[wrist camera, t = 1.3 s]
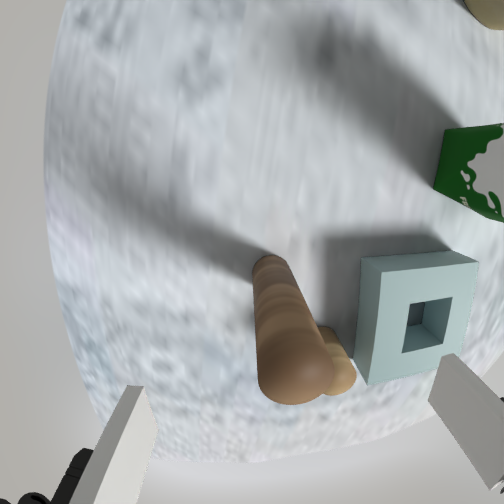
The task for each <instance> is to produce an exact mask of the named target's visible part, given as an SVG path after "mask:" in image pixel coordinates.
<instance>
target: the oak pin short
mask: <svg viewBox="0 0 504 504" xmlns="http://www.w3.org/2000/svg"><path fill="white" fill-rule="evenodd" d="M318 330H319V332H320V334H321V336H322V339H323V341H324V343H325V345H326V347H327V350H328V352H329V354H330V356H331V359H332V361H333V364H334V368H335V373H334V378H333V380H332V382H331V384H330V386H329V387H328V388H327V390H326V391H325V392H324V393H323V394H325V395H338V394H341V393H344V392H345V391H347V390H348V389H350V388H351V387H352V386H353V384H354V383H355V380H356V376H357V375H356V371H355V369H354V367H353V365H352V363H351V361H350V359H349V358H348V356H347V354H346V352H345V350H344V348H343V346H342V345H341V343H340V341H339V339H338V337H337V335H336V334H335V332H334V331H333V330H332V329H330V328H328V327H318Z"/></svg>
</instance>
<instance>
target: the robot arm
mask: <svg viewBox="0 0 504 504" xmlns="http://www.w3.org/2000/svg"><path fill="white" fill-rule="evenodd" d="M428 402H429V403H430V404H431V406H432V407H433V408H434V410H435V411H436V413H437V414H438V415H439V417H440V418H441V419H442V421H443V422H444V424H445V425H446V426H447V428H448V429H449V431H450V432H451V433H452V435H453V436H454V438H455V439H456V441H457V442H458V444H459V445H460V446H461V448H462V449H463V451H464V452H465V454H466V455H467V457H468V458H469V460H470V461H471V463H472V464H473V466H474V467H475V469H476V470H477V471H478V473H479V475H480V476H481V478H482V479H483V481H484V482H485V484H486V486H487V487H488V489H489V490H490V491H491V490H492V489H494V488H495V487H497V486H498V485H500V484H501V483H502V482H503V481H504V398H503V397H502V398H499V397H498V396H497V395H496V394H495V393H494V392H493V391H492V390H491V389H490V388H489V387H488V386H487V385H486V384H485V383H484V382H483V381H482V380H481V379H480V378H479V377H478V376H477V375H476V374H475V373H474V372H473V371H472V370H471V369H470V368H469V367H468V366H467V365H466V364H465V363H463V362H462V361H461V360H460V359H459V358H458V357H457V356H456V355H455V354H454V353H451V354H448V355H444V356H441V360H440V363H439V367H438V370H437V374H436V377H435V380H434V383H433V386H432V390H431V393H430V395H429V398H428ZM158 431H159V429H158V427H157V424H156V421H155V418H154V416H153V413H152V410H151V407H150V404H149V401H148V398H147V395H146V392H145V389H144V386H130V385H127V387H126V389H125V391H124V393H123V395H122V396H121V398H120V400H119V402H118V404H117V406H116V408H115V410H114V412H113V414H112V416H111V418H110V419H109V421H108V423H107V425H106V427H105V429H104V431H103V433H102V435H101V437H100V439H99V441H98V443H97V445H96V447H95V449H94V450H91V449H86V448H83V449H82V450H80V451H79V452H78V453H77V454H76V455H75V456H74V457H73V459H72V461H71V463H70V465H69V468H68V469H67V471H66V473H65V475H64V476H63V478H62V480H61V483H60V484H59V486H58V489H57V490H56V492H55V494H54V497H53V498H52V500H51V502H50V501H49V500H48V499H47V498H46V497H45V496H44V495H42V494H39V493H36V492H34V493H27V494H25V495H24V496H22V497H21V498H20V500H19V502H18V504H137V500H138V497H139V493H140V490H141V486H142V483H143V479H144V476H145V473H146V469H147V466H148V463H149V460H150V457H151V453H152V450H153V447H154V444H155V440H156V437H157V434H158ZM503 492H504V487H503V488H502V490H501V493H503ZM0 504H11V503H9V502H8V501H7V500H5V499H0Z"/></svg>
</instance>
